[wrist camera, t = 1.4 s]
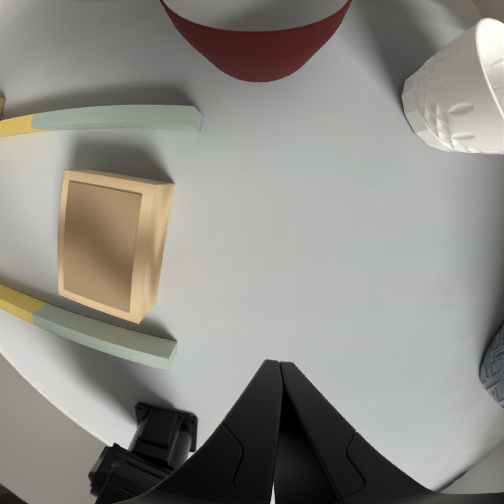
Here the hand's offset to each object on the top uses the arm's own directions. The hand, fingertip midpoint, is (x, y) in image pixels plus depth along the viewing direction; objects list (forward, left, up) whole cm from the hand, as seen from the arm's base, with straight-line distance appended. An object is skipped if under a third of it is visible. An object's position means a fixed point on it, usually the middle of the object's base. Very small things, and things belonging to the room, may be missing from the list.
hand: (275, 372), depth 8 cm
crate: (0, +11, -12) cm, 17 cm away
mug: (+15, +4, -12) cm, 20 cm away
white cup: (+14, -11, -12) cm, 22 cm away
